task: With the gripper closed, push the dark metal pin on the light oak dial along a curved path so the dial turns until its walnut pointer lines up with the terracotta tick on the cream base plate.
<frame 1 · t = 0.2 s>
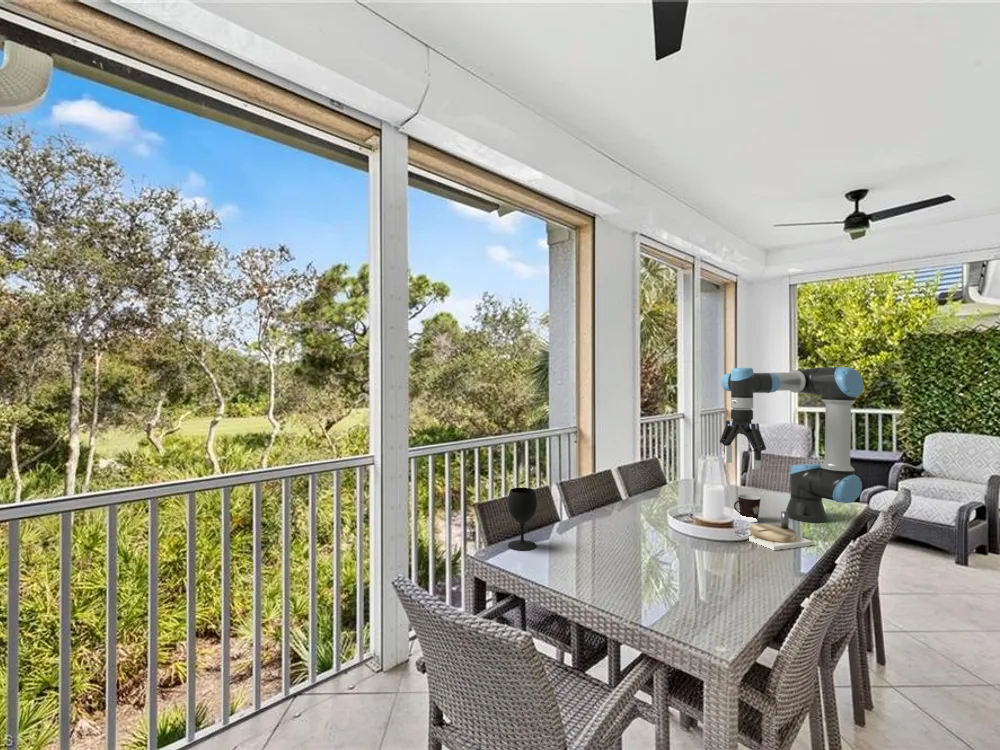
hand: (741, 465, 187), 28 cm above the table, tool pointing down, fingers open, 13 cm apart
dial: (772, 524, 186), point 6 cm above the table, hinge at 0.0°
base plate: (772, 540, 186), on the table
coffee mug: (745, 520, 211), on the table
wine glass: (522, 546, 179), on the table
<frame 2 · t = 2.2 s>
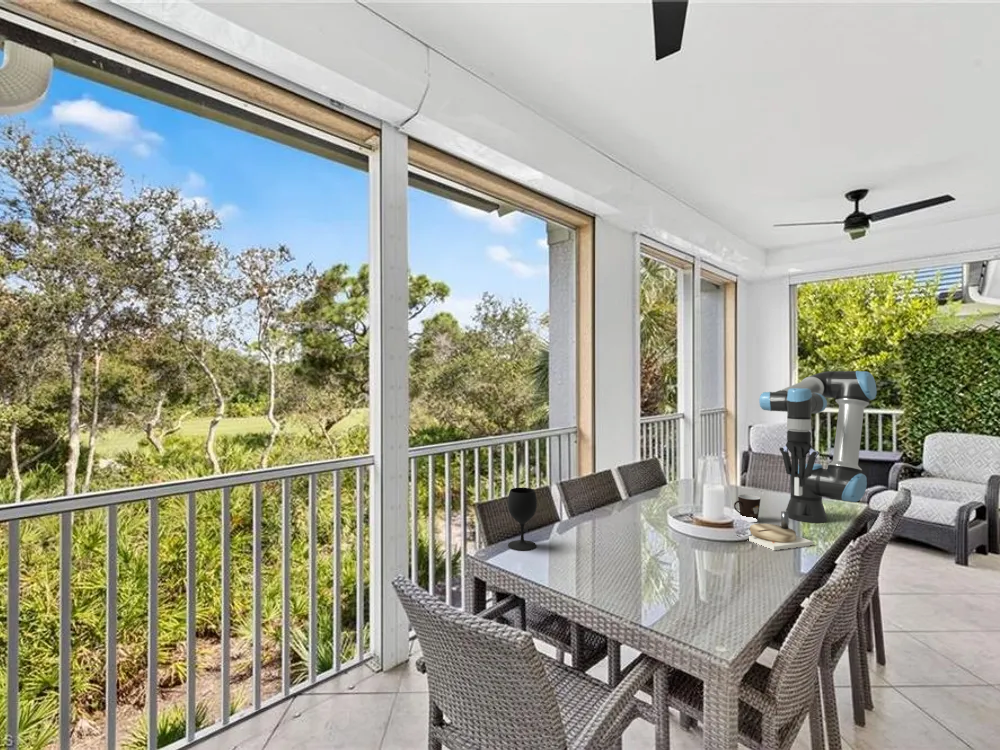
hand: (798, 495, 182), 18 cm above the table, tool pointing down, fingers closed
nothing on the table moved.
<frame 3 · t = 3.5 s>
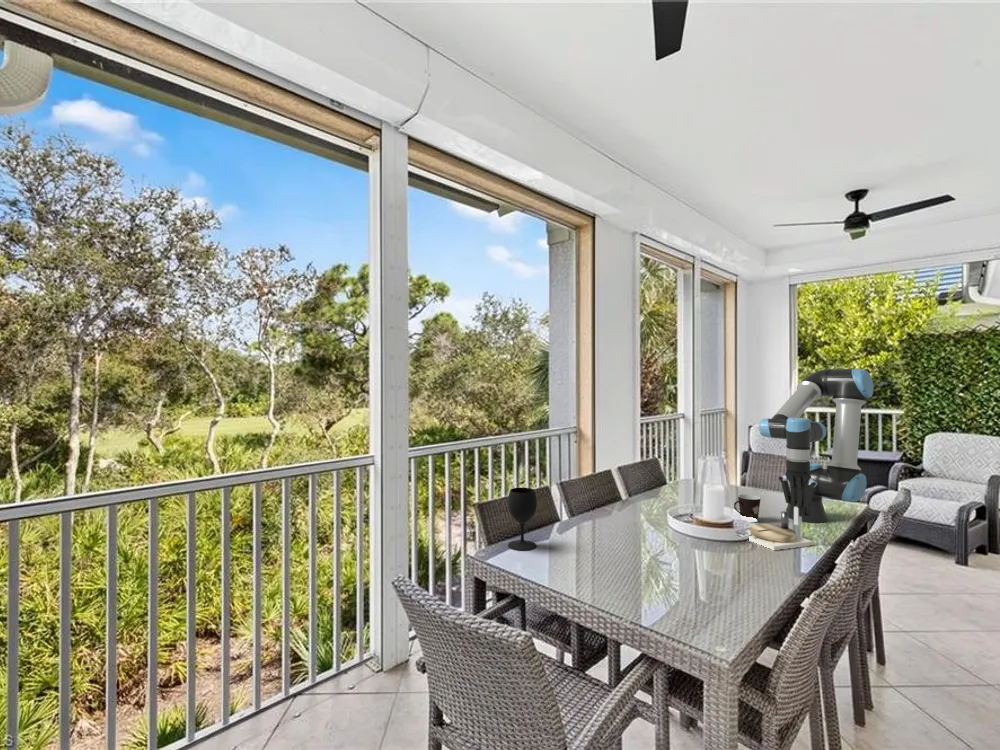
hand: (797, 524, 183), 7 cm above the table, tool pointing down, fingers closed
nothing on the table moved.
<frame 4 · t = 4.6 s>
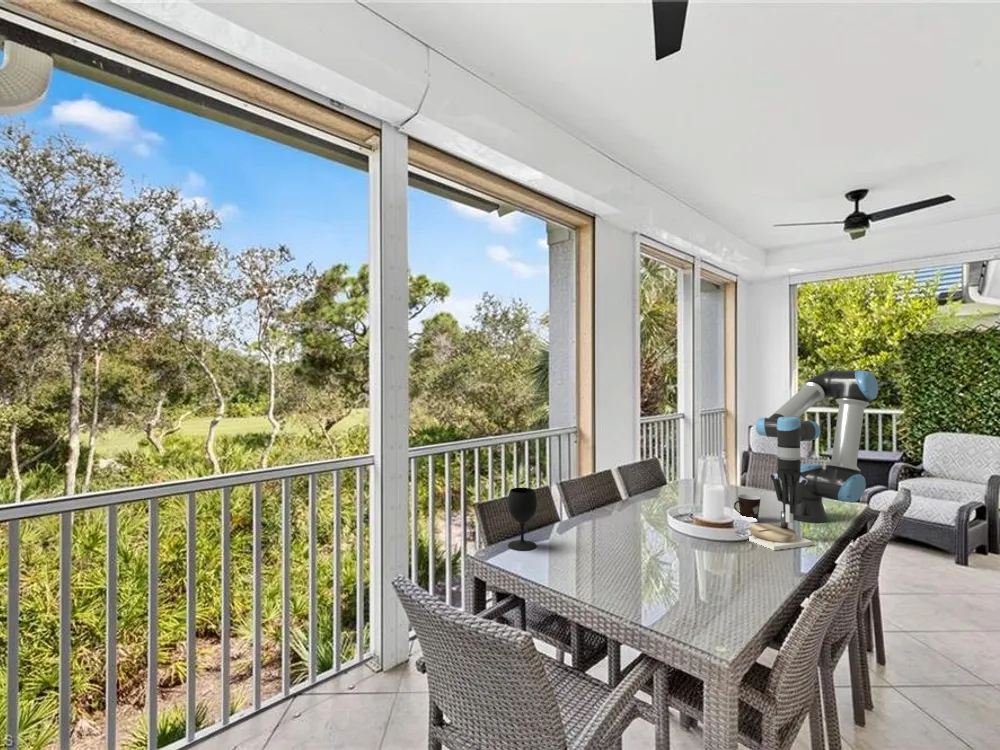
hand: (789, 521, 186), 7 cm above the table, tool pointing down, fingers closed
dial: (772, 524, 186), point 6 cm above the table, hinge at 1.8°, touching gripper
everything else where it was.
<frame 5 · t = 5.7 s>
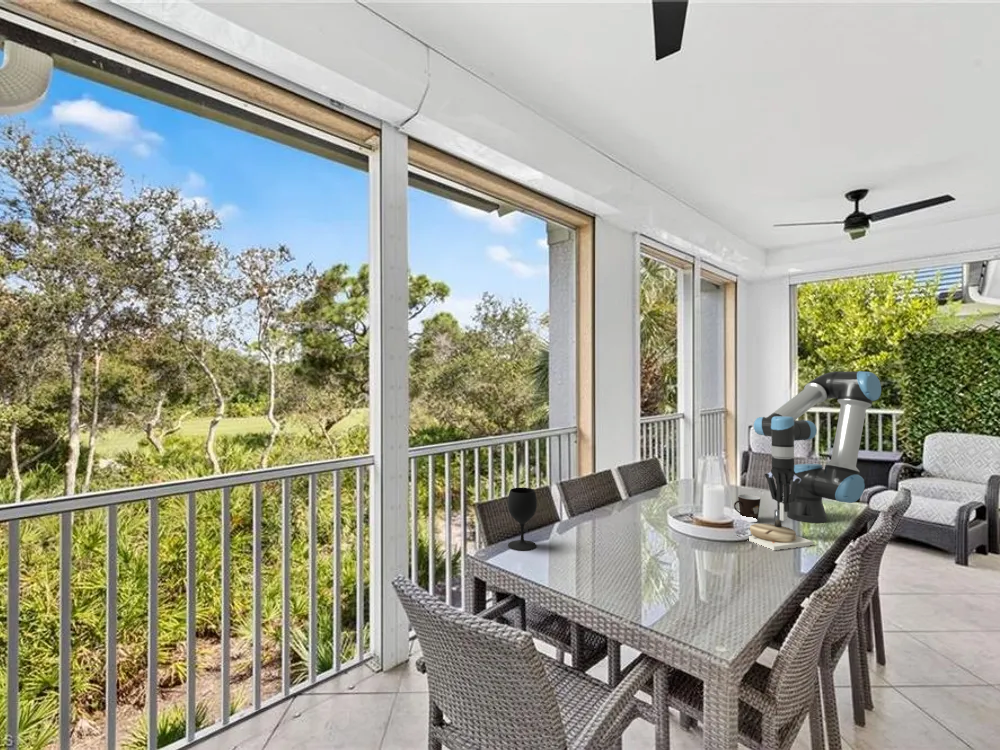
hand: (783, 519, 189), 7 cm above the table, tool pointing down, fingers closed
dial: (772, 524, 186), point 6 cm above the table, hinge at 25.0°, touching gripper
everything else where it was.
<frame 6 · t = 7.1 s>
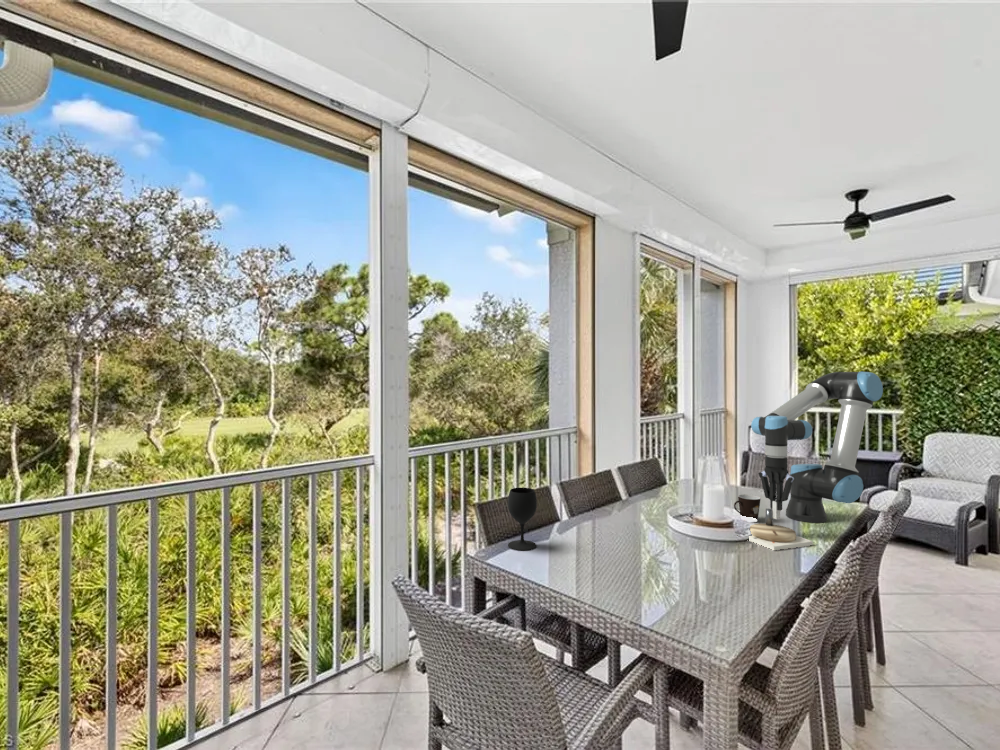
hand: (776, 518, 191), 7 cm above the table, tool pointing down, fingers closed
dial: (772, 524, 186), point 6 cm above the table, hinge at 53.2°
everything else where it was.
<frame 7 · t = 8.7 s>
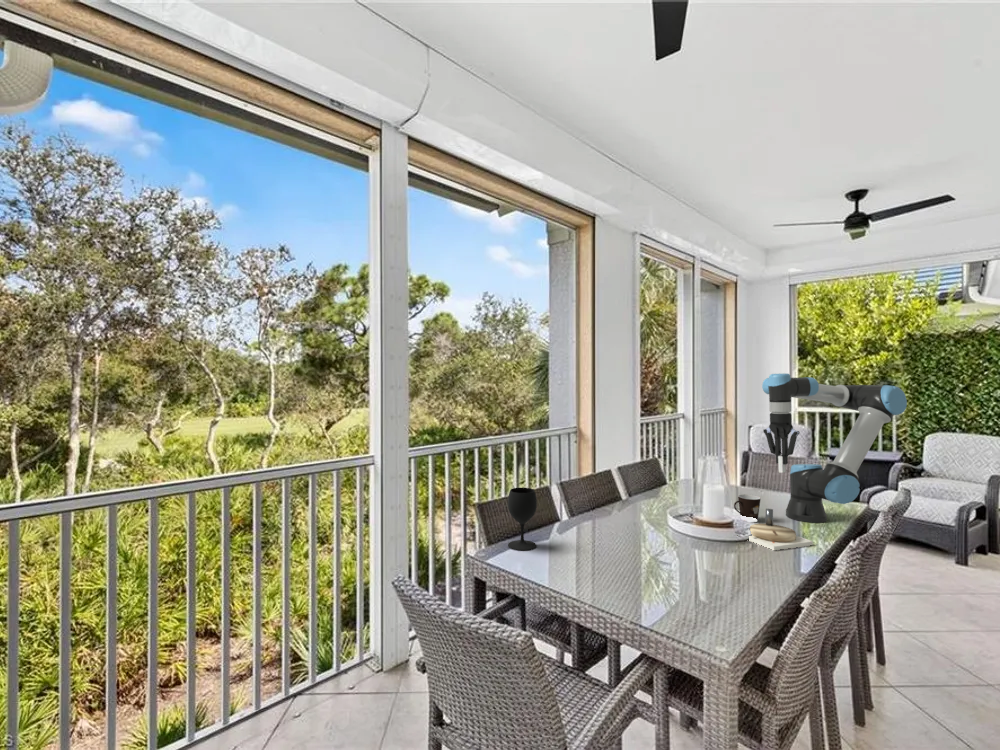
hand: (782, 472, 197), 23 cm above the table, tool pointing down, fingers closed
nothing on the table moved.
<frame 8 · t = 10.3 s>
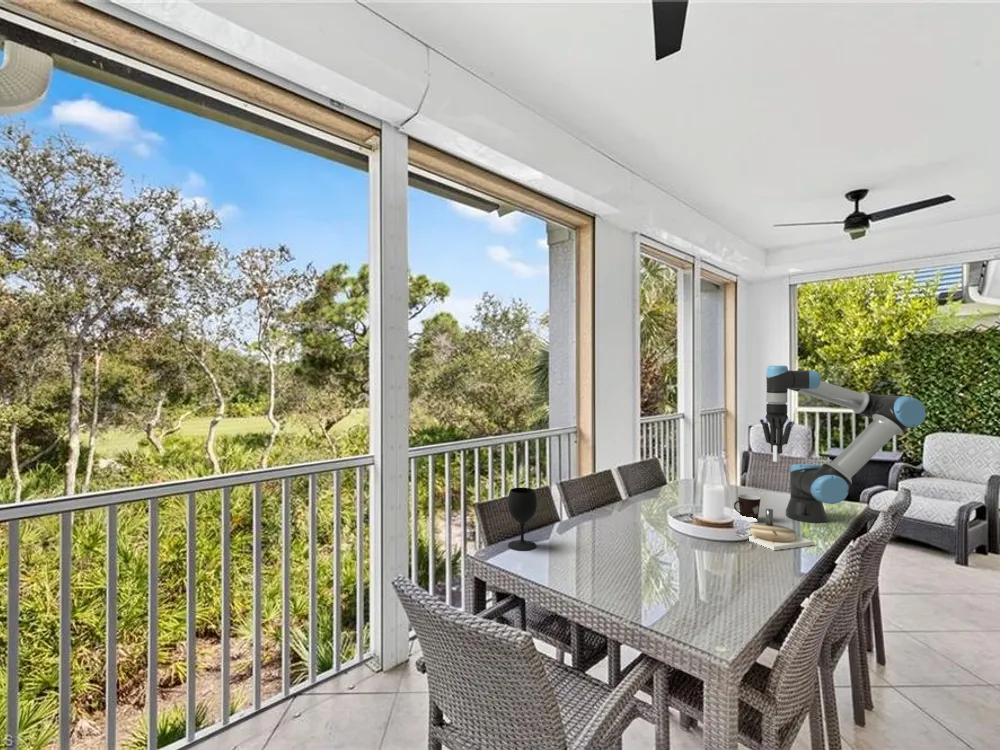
hand: (776, 461, 203), 26 cm above the table, tool pointing down, fingers closed
nothing on the table moved.
at the end: dial at +53° (first picture: +0°); coffee mug moved 0.2 cm from its start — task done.
